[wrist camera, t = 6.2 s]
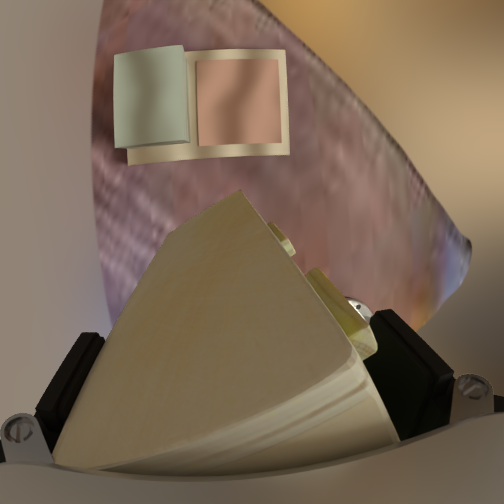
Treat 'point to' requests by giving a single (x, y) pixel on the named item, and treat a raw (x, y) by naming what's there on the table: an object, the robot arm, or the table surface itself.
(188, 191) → the table surface
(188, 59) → the board
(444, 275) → the table surface
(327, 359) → the toy refrigerator
